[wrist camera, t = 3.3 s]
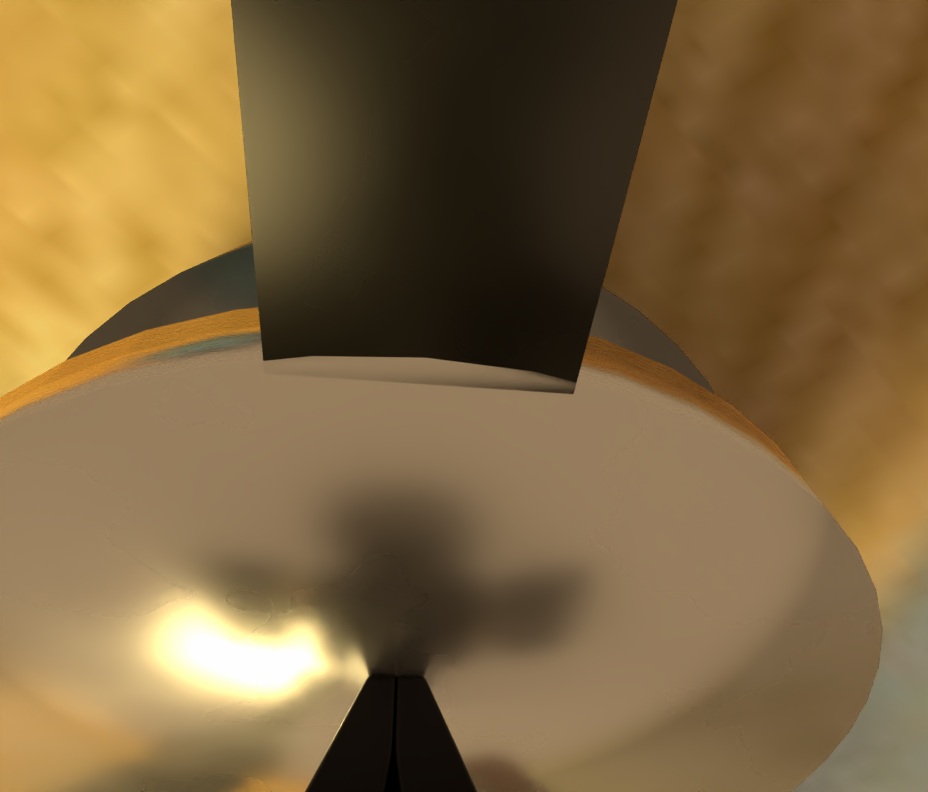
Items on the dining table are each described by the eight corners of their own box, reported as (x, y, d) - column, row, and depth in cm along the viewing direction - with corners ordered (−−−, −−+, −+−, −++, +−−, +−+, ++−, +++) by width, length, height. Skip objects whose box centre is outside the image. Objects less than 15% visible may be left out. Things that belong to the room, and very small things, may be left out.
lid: (53, 863, 15) (26, 927, 14) (-763, -258, 4) (-1176, -348, 3) (669, 851, 16) (685, 907, 15) (1299, 53, 6) (1489, 65, 5)
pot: (154, 669, 20) (56, 859, 15) (73, -56, 13) (-186, -227, 7) (603, 675, 22) (668, 848, 16) (755, 38, 15) (963, -42, 9)
